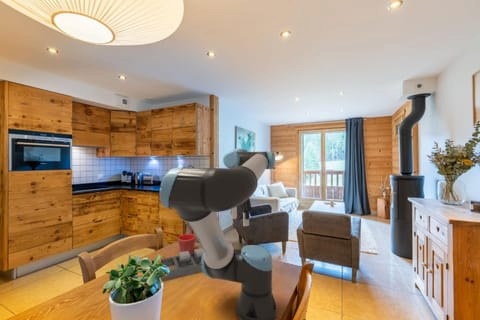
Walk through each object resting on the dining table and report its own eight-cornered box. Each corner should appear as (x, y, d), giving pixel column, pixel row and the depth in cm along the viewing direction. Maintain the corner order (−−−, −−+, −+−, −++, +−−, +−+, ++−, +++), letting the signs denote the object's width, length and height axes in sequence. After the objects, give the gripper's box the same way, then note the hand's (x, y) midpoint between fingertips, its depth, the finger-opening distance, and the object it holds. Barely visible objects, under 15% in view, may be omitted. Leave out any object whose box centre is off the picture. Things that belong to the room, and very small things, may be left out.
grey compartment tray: (212, 269, 110) (212, 261, 110) (158, 282, 98) (158, 273, 98) (204, 257, 124) (204, 250, 124) (155, 267, 112) (155, 260, 112)
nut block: (189, 269, 110) (189, 254, 110) (180, 271, 108) (180, 256, 108) (187, 265, 114) (187, 250, 114) (178, 267, 112) (178, 252, 112)
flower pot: (175, 256, 125) (175, 240, 125) (181, 248, 136) (181, 233, 136) (193, 256, 125) (193, 240, 125) (197, 248, 136) (197, 233, 136)
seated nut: (205, 266, 114) (205, 251, 114) (196, 268, 112) (196, 253, 112) (202, 262, 118) (203, 247, 118) (194, 264, 116) (194, 249, 116)
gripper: (259, 181, 95) (259, 228, 95) (236, 177, 117) (236, 215, 117) (244, 182, 92) (244, 230, 92) (223, 177, 114) (223, 216, 114)
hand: (239, 222), depth 105 cm, fingers open, 13 cm apart
